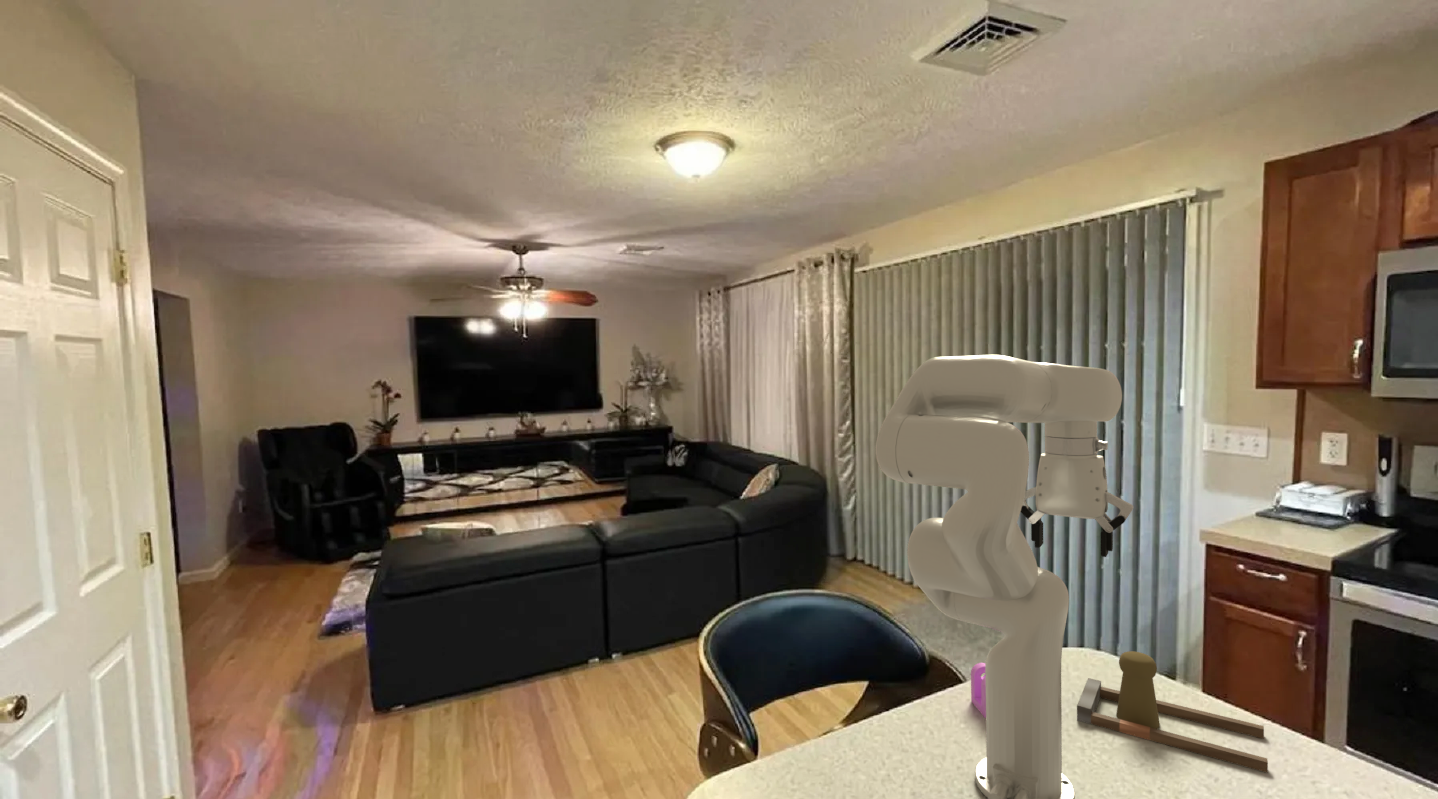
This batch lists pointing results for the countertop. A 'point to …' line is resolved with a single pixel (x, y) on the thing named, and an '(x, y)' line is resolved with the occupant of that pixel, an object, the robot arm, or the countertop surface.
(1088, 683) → the guide channel
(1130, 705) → the cork
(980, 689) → the bracket
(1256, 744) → the countertop surface
